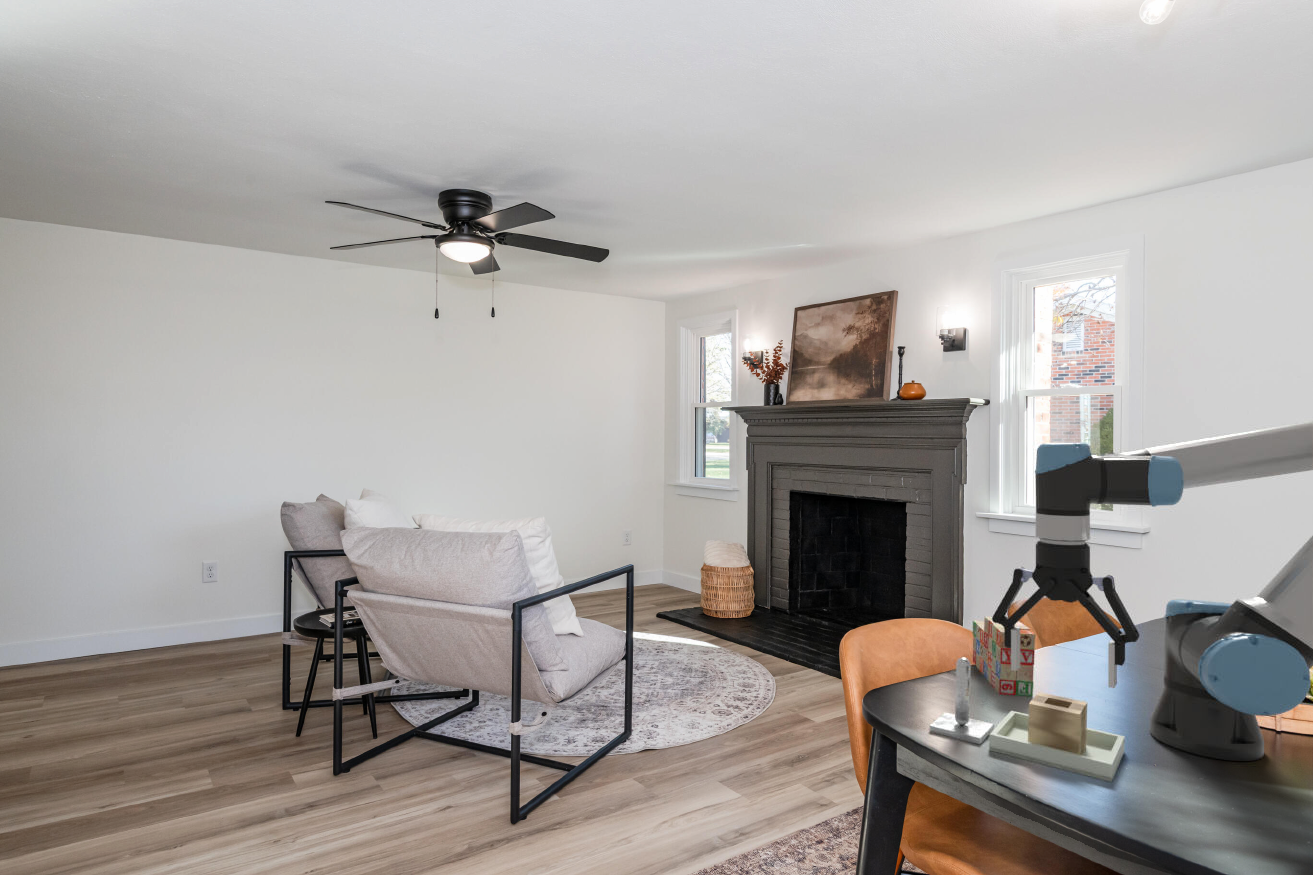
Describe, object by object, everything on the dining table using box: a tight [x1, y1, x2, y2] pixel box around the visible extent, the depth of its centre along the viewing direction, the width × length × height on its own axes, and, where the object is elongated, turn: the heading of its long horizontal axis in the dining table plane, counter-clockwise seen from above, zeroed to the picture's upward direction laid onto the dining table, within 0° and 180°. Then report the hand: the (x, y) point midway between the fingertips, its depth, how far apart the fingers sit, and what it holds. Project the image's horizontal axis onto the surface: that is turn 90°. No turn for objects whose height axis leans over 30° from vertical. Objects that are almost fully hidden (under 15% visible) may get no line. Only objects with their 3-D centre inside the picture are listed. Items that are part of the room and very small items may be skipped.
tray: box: [988, 710, 1126, 783], centre depth 120 cm, size 17×14×2 cm
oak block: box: [1028, 691, 1088, 755], centre depth 120 cm, size 7×7×7 cm
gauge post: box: [929, 657, 995, 745], centre depth 127 cm, size 8×8×12 cm
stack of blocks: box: [972, 616, 1036, 698], centre depth 156 cm, size 21×6×12 cm, turn 171°
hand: (1062, 676), depth 120 cm, fingers open, 13 cm apart
